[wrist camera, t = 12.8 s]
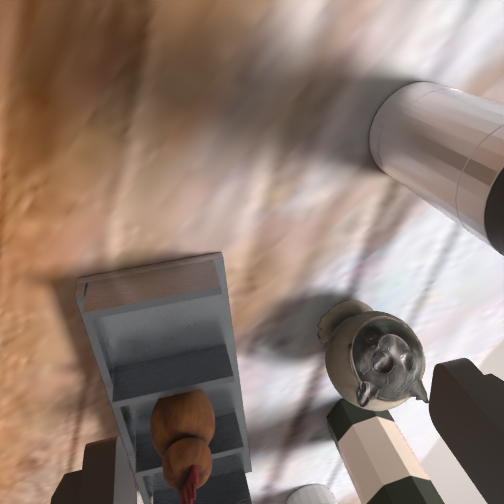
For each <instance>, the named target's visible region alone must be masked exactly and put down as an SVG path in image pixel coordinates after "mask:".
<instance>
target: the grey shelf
mask: <svg viewBox="0 0 504 504" xmlns="http://www.w3.org/2000/svg"><path fill="white" fill-rule="evenodd" d="M75 298H76V301H77V304H78V307H79V310H80V313H81V316H82V319H83V322H84V325H85V328H86V331H87V334H88V337H89V340H90V343H91V346H92V349H93V352H94V355H95V358H96V361H97V364H98V367H99V370H100V373H101V376H102V380H103V383H104V386H105V389H106V392H107V395H108V398H109V401H110V404H111V407H112V410H113V413H114V416H115V419H116V422H117V425H118V428H119V431H120V434H121V437H122V440H123V443H124V446H125V449H126V452H127V455H128V458H129V461H130V464H131V467H132V470H133V473H134V476H135V479H136V482H137V485H138V488H139V491H140V494H141V497H142V500H143V503H144V504H180V501H179V493H178V491H177V490H175V489H172V488H171V487H169V485H168V484H167V483H166V481H165V479H164V476H163V468H162V460H163V458H162V457H161V456H160V455H159V454H158V453H157V451H156V450H155V448H154V446H153V442H152V436H151V430H150V419H151V415H152V411H153V409H154V406H155V404H156V402H157V401H158V398H163V397H167V396H172V395H176V394H181V393H185V392H190V391H194V390H199V389H202V390H203V391H204V392H205V394H206V395H207V397H208V398H209V400H210V402H211V405H212V407H213V411H214V416H215V432H214V436H213V438H212V439H211V441H210V443H209V444H208V447H209V449H210V452H211V456H212V470H211V473H210V475H209V478H208V480H207V481H206V482H205V484H204V485H202V486H201V487H199V488H197V489H196V500H193V504H252V502H251V498H250V493H249V489H248V485H247V480H246V476H245V473H248V472H252V468H251V461H250V453H249V446H248V438H247V431H246V424H245V416H244V409H243V401H242V394H241V386H240V379H239V371H238V364H237V356H236V349H235V342H234V334H233V327H232V319H231V312H230V304H229V297H228V289H227V282H226V274H225V267H224V260H223V255H222V252H218V253H213V254H207V255H202V256H196V257H191V258H185V259H180V260H174V261H168V262H163V263H157V264H152V265H146V266H141V267H135V268H130V269H124V270H119V271H113V272H107V273H102V274H96V275H91V276H85V277H80V278H78V283H77V287H76V292H75Z"/></svg>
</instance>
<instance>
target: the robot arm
mask: <svg viewBox="0 0 504 504" xmlns="http://www.w3.org/2000/svg"><path fill="white" fill-rule="evenodd" d="M369 143H370V151H371V154H372V157H373V159H374V161H375V163H376V164H377V166H378V167H379V168H380V169H381V170H382V171H384V172H385V173H387V174H388V175H389V176H391V177H392V178H394V179H395V180H397V181H398V182H399V183H401V184H402V185H403V186H405V187H406V188H408V189H409V190H411V191H412V192H413V193H415V194H416V195H418V196H419V197H420V198H422V199H423V200H425V201H426V202H428V203H429V204H430V205H432V206H433V207H435V208H436V209H438V210H439V211H440V212H442V213H443V214H445V215H446V216H447V217H449V218H450V219H452V220H453V221H455V222H456V223H457V224H459V225H460V226H462V227H463V228H465V229H466V230H467V231H469V232H470V233H472V234H473V235H475V236H476V237H478V238H479V239H480V240H482V241H483V242H485V243H486V244H488V245H489V246H490V247H492V248H493V249H495V250H496V251H498V252H499V253H500V254H502V255H503V256H504V103H500V102H497V101H493V100H490V99H486V98H483V97H479V96H476V95H473V94H469V93H466V92H462V91H459V90H456V89H453V88H449V87H446V86H442V85H439V84H435V83H430V82H417V83H412V84H409V85H406V86H404V87H402V88H401V89H399V90H397V91H396V92H394V93H393V94H392V95H391V96H390V97H389V98H387V99H386V101H385V102H384V103H383V104H382V106H381V107H380V108H379V110H378V112H377V114H376V115H375V117H374V120H373V123H372V126H371V129H370V137H369ZM429 413H430V417H431V420H432V422H433V425H434V426H435V428H436V430H437V431H438V433H439V434H440V436H441V437H442V439H443V440H444V441H445V443H446V444H447V446H448V447H449V449H450V450H451V452H452V453H453V454H454V456H455V457H456V459H457V460H458V462H459V463H460V465H461V466H462V467H463V469H464V470H465V472H466V473H467V474H468V476H469V478H470V479H471V480H472V482H473V483H474V485H475V486H476V488H477V489H478V491H479V492H480V493H481V495H482V496H483V498H484V499H485V501H486V502H487V503H488V504H504V381H503V380H501V379H499V378H498V377H496V376H494V375H493V374H487V375H483V374H482V372H481V371H480V370H479V369H478V368H477V367H476V366H475V365H474V364H473V363H472V362H471V361H470V360H469V359H467V358H461V359H456V360H452V361H448V362H443V363H439V364H436V365H435V367H434V371H433V378H432V385H431V392H430V399H429ZM51 504H137V494H136V486H135V480H134V476H133V473H132V470H131V467H130V464H129V461H128V458H127V455H126V452H125V449H124V446H123V443H122V440H121V438H120V437H119V436H118V437H113V438H109V439H105V440H100V441H96V442H92V443H88V444H86V446H85V450H84V458H83V466H82V470H79V471H75V472H71V473H67V474H64V476H63V478H62V480H61V482H60V483H59V485H58V487H57V489H56V491H55V492H54V494H53V496H52V498H51Z"/></svg>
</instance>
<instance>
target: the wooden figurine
mask: <svg viewBox="0 0 504 504" xmlns="http://www.w3.org/2000/svg"><path fill="white" fill-rule="evenodd" d="M150 430H151V436H152V442H153V446H154V448H155V450H156V451H157V453H158V454H159V455H160V456H161V457H162V458H163V460H162V468H163V476H164V479H165V481H166V483H167V484H168V485H169V487H171V488H172V489H175V490H177V491H178V493H179V501H180V504H193V500H196V489H197V488H199V487H201V486H202V485H204V484H205V482H206V481H207V480H208V478H209V475H210V473H211V470H212V456H211V452H210V449H209V447H208V444H209V443H210V441H211V439H212V438H213V436H214V432H215V416H214V411H213V407H212V405H211V402H210V400H209V398H208V397H207V395H206V394H205V392H204V391H203V390H202V389H199V390H194V391H190V392H185V393H181V394H176V395H172V396H167V397H163V398H158V401H157V402H156V404H155V406H154V409H153V411H152V415H151V419H150Z"/></svg>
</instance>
